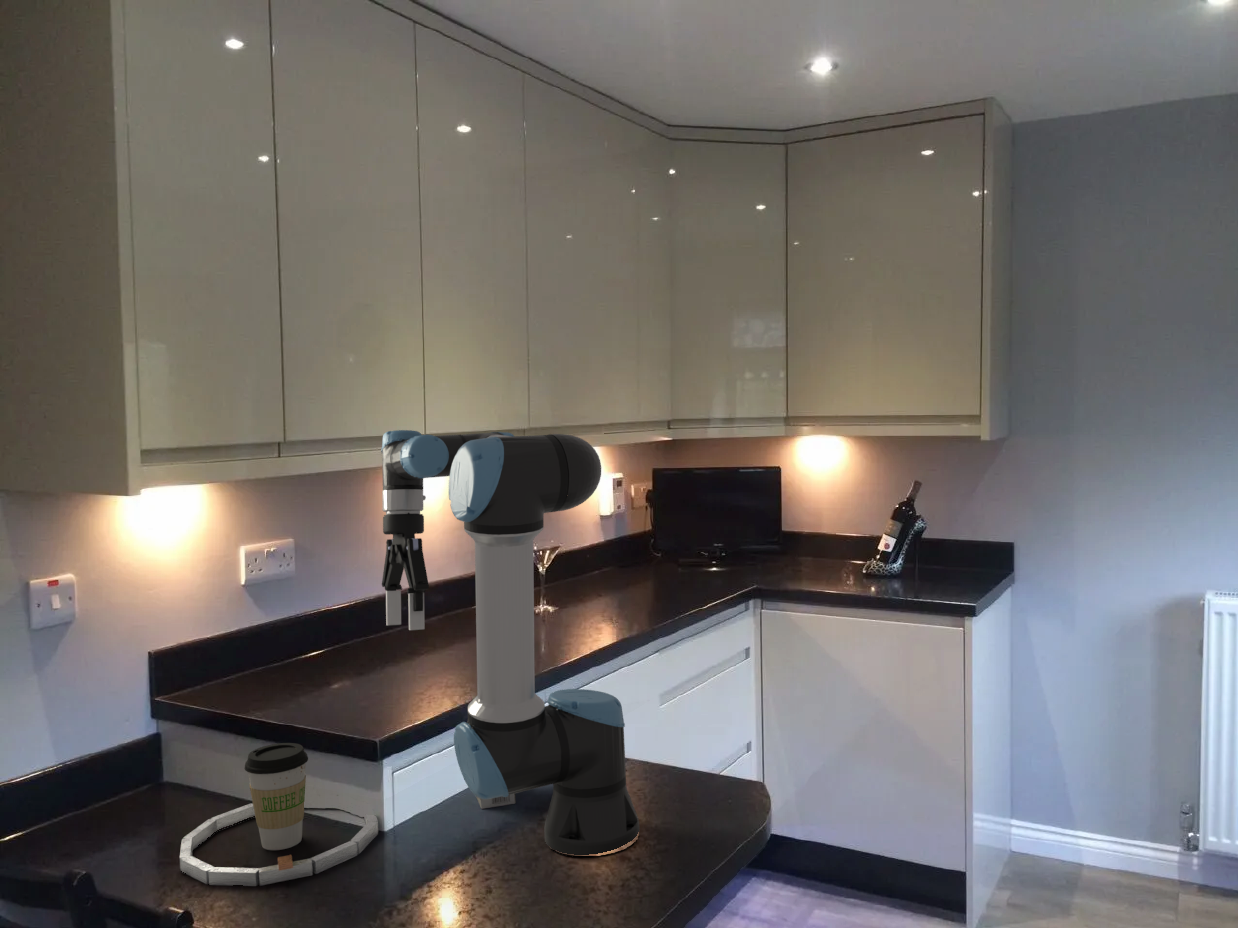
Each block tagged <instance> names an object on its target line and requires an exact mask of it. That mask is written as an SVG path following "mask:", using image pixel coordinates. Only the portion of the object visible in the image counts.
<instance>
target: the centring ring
mask: <svg viewBox="0 0 1238 928" xmlns="http://www.w3.org/2000/svg"><path fill="white" fill-rule="evenodd" d="M365 815H366V824H365V825H363V827H362V828H361V829H360V830H359V831H357V833H356V834H355V835H354V836H353V837H352V838H351V839H350V840H349V841H347V842H345V843H342V844H339V845H337V846H336V847H334V848H331V849H329V850H325V851H324V852H322V853H319V854H316V855H315V856H312V857H310V858H305V859H300V860H294V861H293V856H292V854H289V855H288V854H287V855H283V856H278V857H277V864H274V865H268V866H264V867H258V868H257V867H229V866H227V867H226V866H225V867H221V866H216V867H215V866H213V865H211V864H209V863H208V862H205V861H202V860H201V859H198V858H196V857H195V856H193V852H194V851H193V850H195V849H196V848H197V847H199V846H200V845H202V844H203V843H204V842H205V841H206V840H208V839H209V838H211V837H212V836H213V835H214V834H215V833H214V832H216V831H217V830H219V829H221V828H223V827H226V826H229V825H232V826H234V825H233V824H234V823H237V822H239V821H242V820H244V819H247V818H249V817H253V816H255V812H254V807H253V802H252V803H248V804H246V805H243V806H240V807H237V808H235V809H231V810H229V811H226V812H224V813H220V814H218V815H216V816H213V817H211V818H209V819H207V820H205V821H204V822H203V823H201V824H200V825H198V826H197V827H196V828H195V829H193V830H191V832H189V833H188V834H186V835H185V836H184V837H183V838H182V839H181V844H180V852H179V869H180V872H181V871H182V872H181V873H183V872H184V873H183V874H185V873H186V874H185V875H186V876H189V877H191V878H192V879H195V880H197V881H199V882H201V883H203V884H205V885H208V884H209V885H210V886H233V885H243V886H244V887H257V886H258V885H259V886H260V887H261V886H265V885H270V884H275V883H280V882H285V881H286V882H287V881H289V880H295V879H301V878H305V877H309V876H310V877H311V876H313V875H314V874H315V875H317V874H319V873H321V872H323V871H326V870H328V869H330V868H333V867H334V866H336V865H339V864H342V863H343V862H346V861H348V860H350V859H352V858H356V857H357V856H358V855H360V854H361V853H362V852H363V851H364V850H365V849H366V847H367V846H369V844H370V843H371V842H372V841H373V840H374V839H375V838H376V837H377V836H378V835H379V824H378V823H379V821H378V818H377V815H376V816H374V815H368V814H365ZM253 818H254V817H253ZM219 831H220V830H219ZM217 832H218V831H217ZM217 832H216V833H217ZM213 833H214V834H213ZM212 834H213V835H212ZM211 835H212V836H211ZM208 837H209V838H208ZM207 838H208V839H207ZM202 842H203V843H202ZM199 844H200V845H199ZM198 845H199V846H198ZM209 885H208V886H209ZM243 886H242V887H243Z"/></svg>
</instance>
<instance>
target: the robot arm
mask: <svg viewBox="0 0 1238 928" xmlns="http://www.w3.org/2000/svg"><path fill="white" fill-rule="evenodd" d="M381 443H382V444H381V448H380V450H381V454H382V455H381V456H382V457H381V465H382V492H381V494H382V500H381V501H382V506H381V507H382V511H383V512H384V513H385V514H384V515H383V516H382V532H383V534H384V535H392V538H390V539H386V542H385V543H386V546H385V549H386V551H385V558H384V565H383V573H382V581H381V586H382V588H384V590H385V615H386V616H385V619H386V620H385V621H386V622H385V623H386V625H385V626H400V625H402V591H401V590H403V586H402V584H401V581H402V578H403V574H405V577H406V580H407V581H406V582H407V583H408V588H407V590H406V594H407V595H408V599H407V601H408V603H407V604H408V630H409V631H418V630H425V627H426V626H425V623H426V622H425V621H426V620H425V593H426V590H429V587H430V584H429V581H428V573H427V569H426V563H425V555H424V550H423V539H422V538H421V537H420V538H418V537H417V538H416V534H417V535H419V534H423V533H424V532H425V516H424V514H423V513H422V514H421V512H422V511H424V501H425V500H426V495H424V479H431V478H442V477H443V478H444V477H448V478H449V479H448V499H449V501H450V509H451V512H452V514H453V516H454V517H455V518H456V519H457V520H458V521H460V522H462V523H463V528H464V529H463V530H464V532H465V533H466V534H467V535H469V537H470V538H471V539H472V540H473V541H474V562H475V563H474V568H475V575H474V576H475V577H474V578H475V614H476V615H475V625H476V626H475V627H476V630H475V631H476V633H475V634H476V683H477V684H476V685H477V686H476V687H477V688H476V690H477V695H476V696H475V697H474V698H473V700H471V701H470V702H469V703H468V705H467V721H462V722H460V723H459V724H457V725H455V728H454V732H453V743H454V744H453V746H454V752H455V757H456V761H457V764H458V767H459V771H460V773H461V775H462V777H463V779H464V782H465V783H466V785H467V787H468V789H469V790H470V791H471V793H472V794H473V795H474V796H475V797H476V796H477V797H478V798H481V799H491V798H496V797H501V796H503V797H507V796H508V795H511V794H515V795H516V794H519V793H522V792H525V791H530V790H535V789H538V788H542V787H546V786H549V785H552V786H553V787H552V789H553V791H552V796H551V801H550V803H549V807H548V811H547V816H546V818H545V822H544V828H543V829H544V831H543V832H544V843H545V842H546V843H545V845H546V844H547V845H548V846H550V847H551V848H552V849H554V850H557V851H559V852H562V853H567V854H574V855H589V854H598V853H603V852H607V851H611V850H614V849H617V848H619V847H621V846H623V845H625V844H627V843H628V842H630V841H632V840H633V839H634V838H635V837H636V836H637V834H638V832H639V831H640V820H639V816H638V815H637V812H636V808H635V806H634V804H633V801H632V798H631V796H630V793H629V791H628V787H627V773H626V771H627V770H626V750H625V749H626V748H625V746H626V745H625V730H624V728H625V727H626V724H625V720H624V714H623V706H622V704H621V701H620V700H619V699H618V698H617V697H616V696H614V695H612V694H609V693H607V692H603V691H600V690H592V689H584V688H582V689H581V688H580V689H579V688H572V689H571V688H570V689H569V688H567V689H566V688H565V689H559V690H555V691H554V692H551V693H550V694H548V698H547V704H548V705H546V703H545V702H544V700H543V699H542V698H541V697H540V696H539V695H538V694H536V693H535V692H536V691H535V689H536V688H535V685H536V684H535V681H536V679H535V591H534V588H535V587H534V586H535V585H534V584H535V583H534V582H535V581H534V580H535V578H534V575H535V574H534V573H535V572H534V568H535V567H534V560H535V559H534V540H535V538H536V537H537V536H539V534H540V533H541V532H543V530H544V528H545V527H544V515H545V514H546V513H547V514H549V513H556V512H563V511H567V510H570V509H574V508H575V507H578V506H580V505H582V504H583V503H584V502H586V501H587V500H588V499H589V498H590V497H591V496H593V494H594V493H595V491H596V490H597V488H598V486H599V483H600V482H601V477H602V464H601V459H600V456H599V454H598V452H597V451H596V449H595V448H594V446H592V444H591V443H590V442H587V441H586V440H585V439H583V438H580V437H578V436H575V435H571V434H564V433H563V434H562V433H553V434H551V433H549V434H538V435H537V434H536V435H519V436H518V435H514V434H513V433H511V432H509V431H508V432H507V431H506V432H503V431H491V432H484V433H470V434H469V433H466V434H444V435H441V434H440V435H433V434H422V433H420V432H419V431H418V430H413V429H412V430H410V429H409V430H407V429H402V430H400V429H397V430H389V431H386V432H384V433H383V435H382V442H381ZM403 572H404V573H403ZM545 705H546V706H545ZM547 845H546V846H547ZM548 846H547V847H548Z"/></svg>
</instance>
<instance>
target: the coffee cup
mask: <svg viewBox="0 0 1238 928" xmlns="http://www.w3.org/2000/svg"><path fill="white" fill-rule="evenodd" d="M247 755H248V757H247V760H246V761H245V764H244V771H245V772H247V775H248V779H249V791H250V795H251V800H252V801H251V802H252V804H253V807H254V812H255V817H254V818H255V821H256V825H257V827H258V832H259V837H260V843H261V846H262V848H263V849H264V850H266V851H280V850H285V849H289V848H292V847H295V846H297V845H298V844H299V843H301V841H302V838H303V822H304V821H303V819H304V816H305V809H304V802H305V794H306V783H307V782H306V781H307V780H306V779H307V778H306V776H307V775H306V763H307V762H308V761H309V756H308V754H307V752H306V751H305V748H304V747H303V745H301V744H300V743H295V742H282V743H273V744H267V745H264V746H262V747H258V748H255V749H254V750H252V751H251V752H249V753H248V754H247Z"/></svg>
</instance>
